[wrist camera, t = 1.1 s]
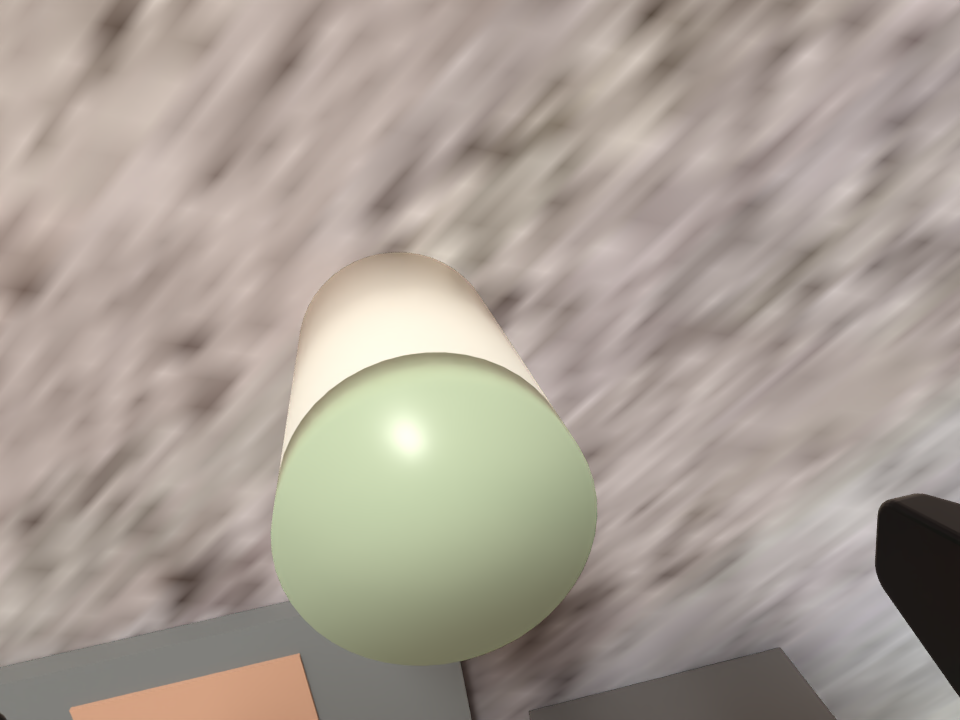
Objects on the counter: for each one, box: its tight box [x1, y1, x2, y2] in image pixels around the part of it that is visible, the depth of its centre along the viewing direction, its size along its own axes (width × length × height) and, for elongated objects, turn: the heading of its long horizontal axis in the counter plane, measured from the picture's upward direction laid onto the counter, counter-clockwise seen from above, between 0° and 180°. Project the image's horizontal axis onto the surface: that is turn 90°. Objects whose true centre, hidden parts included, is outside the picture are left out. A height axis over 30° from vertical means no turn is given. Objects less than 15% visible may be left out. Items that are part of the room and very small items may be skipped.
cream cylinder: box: [271, 252, 597, 666], centre depth 13 cm, size 4×4×7 cm
